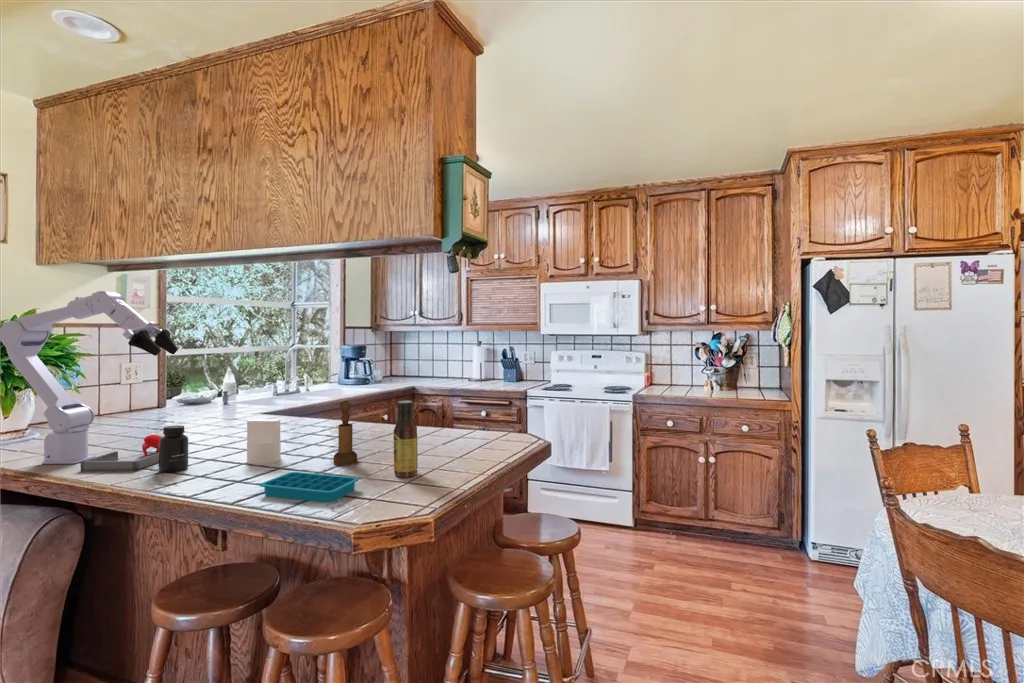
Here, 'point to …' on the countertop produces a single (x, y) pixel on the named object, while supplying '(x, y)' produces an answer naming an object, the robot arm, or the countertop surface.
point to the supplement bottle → (173, 449)
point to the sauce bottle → (405, 441)
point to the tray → (117, 463)
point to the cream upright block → (263, 441)
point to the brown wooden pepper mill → (345, 439)
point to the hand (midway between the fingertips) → (167, 352)
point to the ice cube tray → (309, 486)
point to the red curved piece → (151, 443)
